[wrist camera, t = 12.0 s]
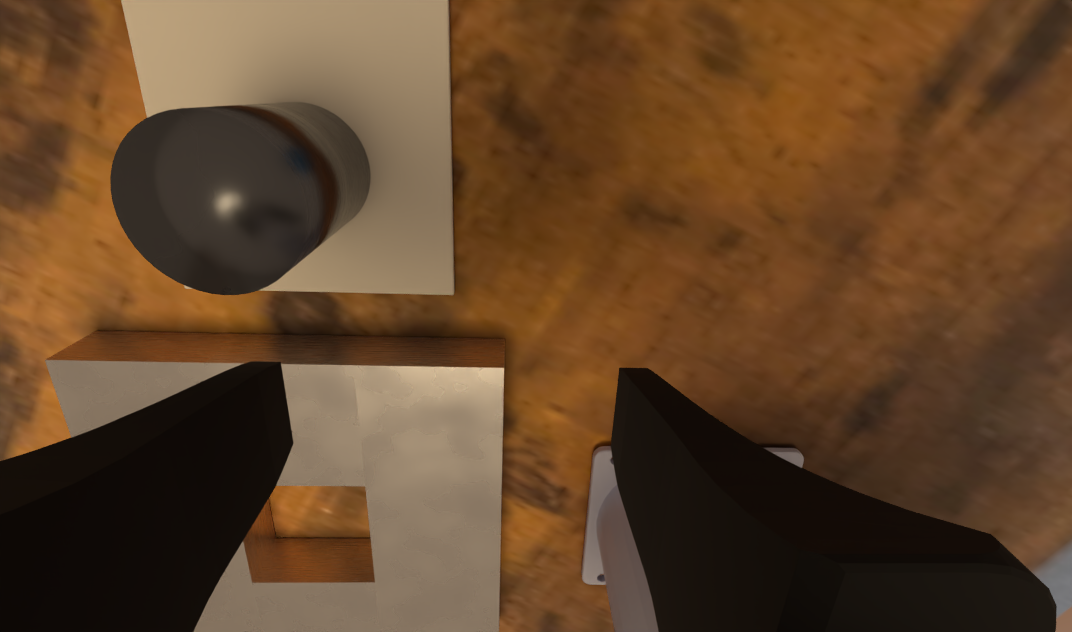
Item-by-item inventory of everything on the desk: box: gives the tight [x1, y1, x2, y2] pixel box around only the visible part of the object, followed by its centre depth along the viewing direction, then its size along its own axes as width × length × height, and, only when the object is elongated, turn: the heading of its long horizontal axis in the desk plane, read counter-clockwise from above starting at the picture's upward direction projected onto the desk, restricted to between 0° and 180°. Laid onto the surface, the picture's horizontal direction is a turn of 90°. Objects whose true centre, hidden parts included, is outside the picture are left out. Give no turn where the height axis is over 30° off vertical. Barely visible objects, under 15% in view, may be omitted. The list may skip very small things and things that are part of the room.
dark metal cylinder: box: [111, 102, 371, 295], centre depth 16 cm, size 4×4×6 cm
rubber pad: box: [121, 0, 455, 295], centre depth 19 cm, size 10×10×1 cm
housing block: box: [45, 331, 505, 632], centre depth 23 cm, size 16×16×2 cm
